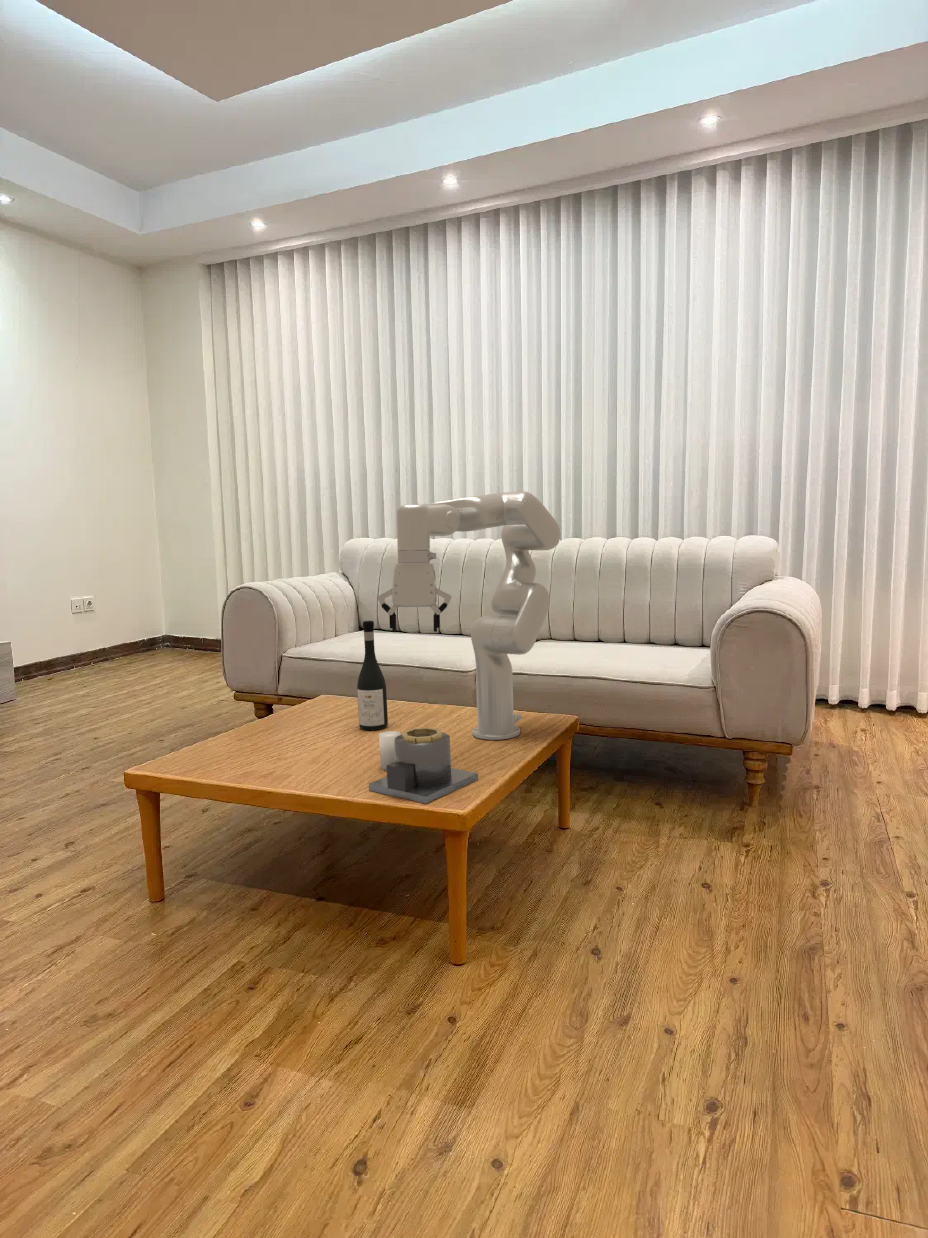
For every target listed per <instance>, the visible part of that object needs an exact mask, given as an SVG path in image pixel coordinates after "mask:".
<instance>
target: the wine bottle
mask: <svg viewBox="0 0 928 1238" xmlns="http://www.w3.org/2000/svg"><path fill="white" fill-rule="evenodd" d="M374 627H375V622H374V620H364V621H362V628H363V637H364V638H363V639H364V659H363V662H362V667H361V669H360V671H359V676H358V678H357V683H356V684H357V687H356V690H357V692H356V694H357V709H358V725H359V728H360V729H362V730H366V731H378V729H379V730H382V728H383V729H385V728H386V727H387V726H388V725H389V720H388V719H389V718H388V699H387V698H388V696H387V684H386V679H385V676H384V674H383V672H382V669H381V667H380V665H379V662H378V660H377V657H376V652H375V650H376V649H375V634H374V633H375V632H374V631H375V630H374Z"/></svg>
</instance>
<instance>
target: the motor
mask: <svg viewBox="0 0 928 1238" xmlns="http://www.w3.org/2000/svg"><path fill="white" fill-rule="evenodd" d="M450 738H451V736H450V735H449V734H448V733H447V732H442V730H441V729H440V728H433V727H427V726H426V727H414V728H410V729H407V730H404V731H402V732H401V733H400V735H399V736H397V737H396V738H395V739H394V741H395V761H396V762H393V763H391V764H388V765H387V770H386V776H384V777H381V778H380V779H377V780H375V781H372V782H370V783H368V791H369V792H375V793H378V794H381V795H382V794H383V795H385V796H386V795H387V796H392V797H396V798H399V799H403V800H408V799H410V800H409V801H412V800H414V801H413V802H416V801H418V803H421V802H422V803H421V804H425V805H427V804H429V803H431V802H433V801H435V800H434V799H436V800H438V799H440V798H442V797H444V796H446V795H449V794H450V793H452V791H453V790H455V791H457V790H458V789H461V788H463V787H465V786H468V785H469V784H472V783H473V782H475V780H476V781H479V773H478V772H475V771H470V770H465V769H464V770H463V769H459V768H454V767H452V761H451V758H452V757H451V754H452V753H451V739H450ZM453 792H454V791H453ZM445 794H446V795H445ZM443 795H444V796H443ZM441 796H442V797H441ZM439 797H440V798H439ZM437 798H438V799H437ZM432 800H433V801H432ZM430 801H431V802H430Z"/></svg>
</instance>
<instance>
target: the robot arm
mask: <svg viewBox="0 0 928 1238" xmlns="http://www.w3.org/2000/svg"><path fill="white" fill-rule="evenodd" d="M501 526H502V529H501V534H500V536H501V542H502V545H503V548H504V549H503V550H504V554H505V560H506V563H505V568H504V569H503V572H502V575H501V577H500V579H499V581H498V583H497V585H496V587H495V590H494V592H493V594H492V598H491V601H490V602H491V603H490V606H491V609H492V612H493V613H495V614H496V615H494V614H493V615H483V616H480V617H479V618H477V619H476V620H475V621H474V622H473V624H472V626H471V628H470V639H471V644H472V649H473V652H474V658H475V659H474V660H475V675H476V677H475V679H476V703H477V704H476V705H477V706H476V707H477V711H476V712H477V726H475V727H474V728H472V736H474V737H475V738H476V739H480V740H481V739H482V740H486V741H487V740H489V741H490V740H491V741H494V740H495V741H499V740H501V741H502V740H508V739H512V738H516V737H518V736H519V735H520V733H521V729H520V727H518V726H516V722H518V721H521V720H522V717H523V715H522V714H521V713H520V712H518V713H514V690H513V689H514V686H513V666H512V662H511V661H510V657H509V656H508V655H519V656H520V655H525V654H527V653H529V652H530V651H532V648H533V647H534V646H535V643H536V642H537V639H538V636H539V635H540V632H541V630H542V627H543V625H544V622H545V621H546V618H547V616H548V613H549V609H550V602H551V599H550V594H549V591H548V589H547V588H546V587H545V586H544V585H543V584H541V583H538V582H534V581H535V579H536V574H537V568H536V564H535V563H534V560H533V558H532V556H531V553H530V551H550V550H553V549H555V548H556V547H557V546H558V545H559V542H560V540H561V528H560V527H559V524H558V522H557V520H556V519H555V518H554V516H553V515H552V514H551V513H550V512H549V510H548V509H547V508H546V506H545V505H544V504H543V503H542V502H541V500H539V499H538V498H537V497H536V496H535V495H534V494H532V493H530V492H529V491H507V492H496V493H489V494H483V495H477V496H476V495H475V496H468V497H461V498H456V499H452V500H451V499H450V500H444V501H436V502H429V503H421V504H402V505H400V506H398V508H397V510H396V529H397V531H396V535H397V564H396V563H395V564H394V568H393V576H392V588H391V589H389V590H387V591H385V592H383V593H381V594H379V595H377V597H376V599H377V600H378V603H379V605H380V606H381V608H382V609H383V610H384V611H385V613H387V614H388V615H389V616H388V617H389V629H392V631H391V632H392V633H396V632H397V630H398V629H397V614H396V611H397V610H398V608H417V607H418V608H423V607H424V608H428V607H429V608H431V609H432V610H433V611H432V612H434V614H433V632H434V633H437V632H438V629H440V628H441V613H443V612H444V611H445V609H447V607H448V605H449V603H450V601H451V600H452V595H451V594H449V593H447V592H446V591H443V590H442V589H439V588H438V587H437V581H436V570H435V567H434V563H431V561H432V560H434V559H435V560H436V559H437V552H432V551H431V542H430V539H431V537H447V536H451V535H452V534H454V533H456V532H463V533H464V532H472V531H473V532H475V531H481V530H486V529H490V528H497V527H501ZM390 596H391V597H392V599H391V600H392V604H393V605H392V606H389V605H388V603H387V602H386V600H385V599H386V598H388V597H390ZM437 596H440V597H441V598H444V600H443V602H442V603H441V605H440V606H438V605H437V604H436V602H437Z"/></svg>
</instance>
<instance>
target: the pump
mask: <svg viewBox="0 0 928 1238" xmlns="http://www.w3.org/2000/svg"><path fill="white" fill-rule="evenodd" d="M399 735H401V732H399V731H394V730H393V731H391V730H389V731H383V732H381V733H379V734H378V739H379V740H378V741H379V742H378V743H379V763H380V769H381V770H383V771H387V765H388V764H391V763H393V762H396V761H395V741H394V739H395V738H396V737H397V736H399Z"/></svg>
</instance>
